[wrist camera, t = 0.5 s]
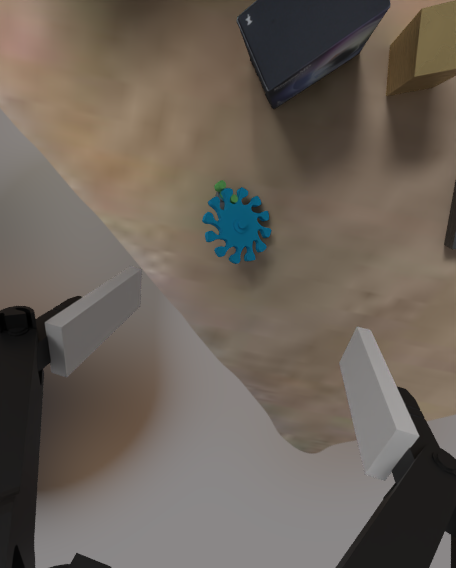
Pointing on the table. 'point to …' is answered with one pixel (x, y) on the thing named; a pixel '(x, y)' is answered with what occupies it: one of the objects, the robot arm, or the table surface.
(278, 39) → the small box
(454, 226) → the grey flat frame
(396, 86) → the olive yellow block
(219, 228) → the gear
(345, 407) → the table surface
